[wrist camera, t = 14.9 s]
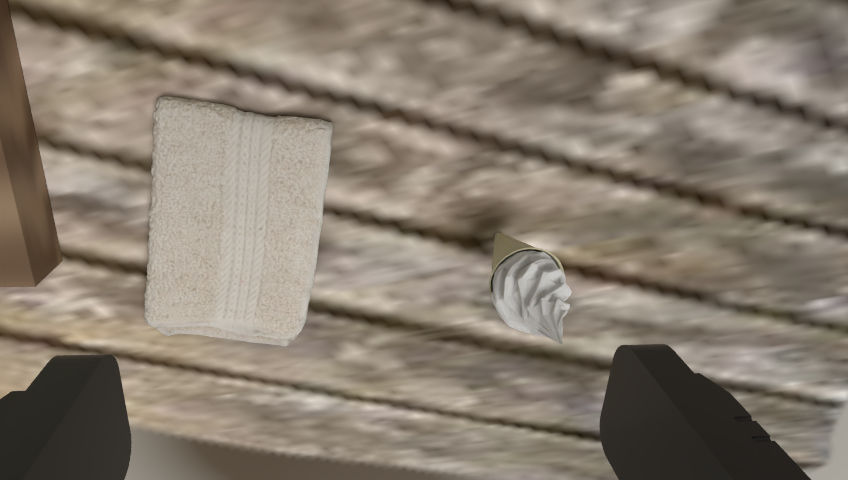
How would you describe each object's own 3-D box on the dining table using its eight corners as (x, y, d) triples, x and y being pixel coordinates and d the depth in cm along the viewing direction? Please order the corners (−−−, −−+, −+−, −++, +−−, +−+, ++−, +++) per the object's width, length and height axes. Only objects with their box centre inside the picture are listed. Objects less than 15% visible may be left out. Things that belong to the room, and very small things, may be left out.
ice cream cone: (455, 254, 46) (502, 367, 32) (481, 196, 44) (542, 290, 30) (512, 272, 47) (581, 389, 33) (540, 216, 45) (623, 315, 31)
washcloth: (152, 320, 45) (139, 342, 42) (156, 87, 39) (141, 95, 36) (306, 335, 47) (304, 357, 45) (336, 117, 41) (335, 127, 38)
